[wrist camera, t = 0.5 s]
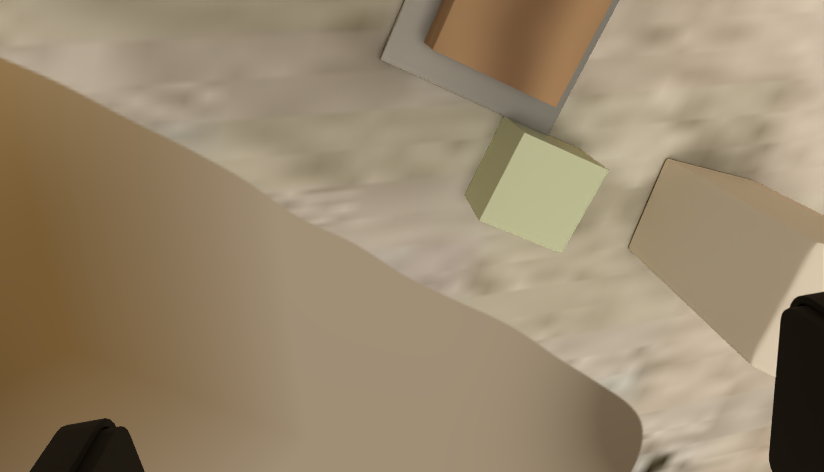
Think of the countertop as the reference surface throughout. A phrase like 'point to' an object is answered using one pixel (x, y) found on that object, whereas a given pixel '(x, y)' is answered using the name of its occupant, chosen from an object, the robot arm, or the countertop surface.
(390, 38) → the build plate
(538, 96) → the walnut brick
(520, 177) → the sage brick
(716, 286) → the milk carton
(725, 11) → the countertop surface
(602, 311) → the countertop surface
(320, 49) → the countertop surface
